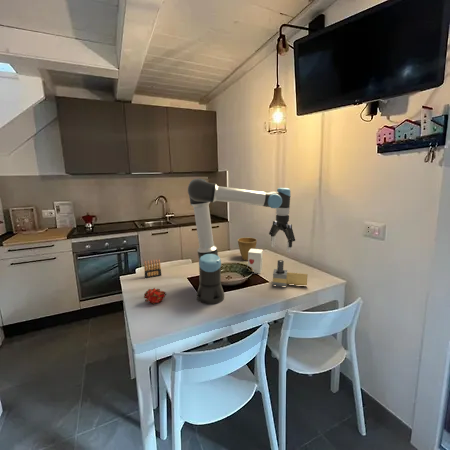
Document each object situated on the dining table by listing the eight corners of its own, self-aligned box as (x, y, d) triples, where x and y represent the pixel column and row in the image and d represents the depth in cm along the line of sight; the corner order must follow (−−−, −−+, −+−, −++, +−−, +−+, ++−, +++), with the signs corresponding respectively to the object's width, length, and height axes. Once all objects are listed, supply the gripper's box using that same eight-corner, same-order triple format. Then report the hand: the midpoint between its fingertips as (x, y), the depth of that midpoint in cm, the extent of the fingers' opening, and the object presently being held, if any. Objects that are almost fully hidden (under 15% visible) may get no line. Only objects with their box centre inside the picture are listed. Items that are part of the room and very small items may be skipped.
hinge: (306, 289, 157) (307, 276, 156) (272, 286, 162) (273, 273, 161) (305, 276, 176) (306, 265, 175) (275, 274, 181) (275, 262, 180)
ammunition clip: (160, 274, 180) (160, 257, 178) (161, 275, 178) (160, 258, 176) (144, 277, 176) (143, 260, 173) (145, 278, 174) (143, 261, 172)
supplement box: (247, 272, 184) (247, 251, 181) (250, 268, 192) (250, 248, 189) (260, 274, 181) (260, 253, 178) (262, 269, 190) (263, 249, 187)
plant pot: (247, 255, 222) (247, 236, 219) (260, 259, 211) (260, 240, 208) (233, 258, 213) (233, 239, 210) (246, 263, 202) (247, 243, 198)
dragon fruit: (142, 306, 141) (165, 305, 146) (144, 303, 134) (168, 302, 139) (142, 290, 145) (165, 289, 149) (144, 286, 138) (167, 286, 142)
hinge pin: (282, 285, 163) (283, 262, 160) (276, 284, 164) (277, 261, 161) (282, 283, 166) (283, 260, 163) (276, 282, 167) (277, 259, 164)
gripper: (303, 217, 148) (300, 254, 152) (273, 211, 169) (272, 243, 173) (293, 218, 144) (291, 255, 148) (264, 212, 165) (262, 245, 169)
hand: (280, 249), depth 161 cm, fingers open, 13 cm apart
